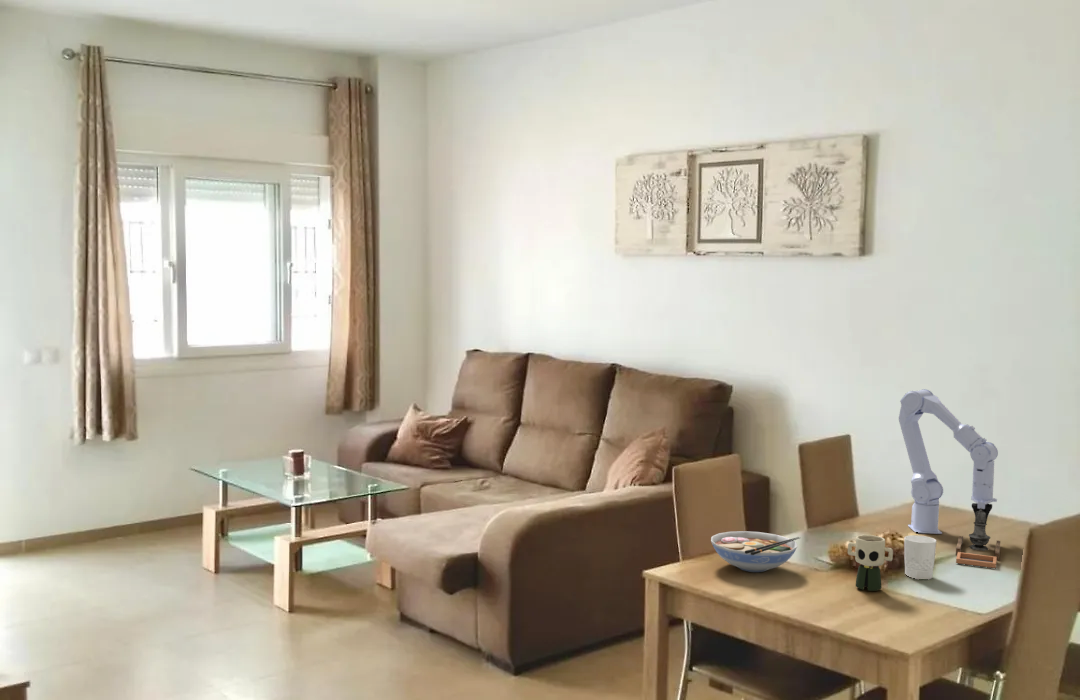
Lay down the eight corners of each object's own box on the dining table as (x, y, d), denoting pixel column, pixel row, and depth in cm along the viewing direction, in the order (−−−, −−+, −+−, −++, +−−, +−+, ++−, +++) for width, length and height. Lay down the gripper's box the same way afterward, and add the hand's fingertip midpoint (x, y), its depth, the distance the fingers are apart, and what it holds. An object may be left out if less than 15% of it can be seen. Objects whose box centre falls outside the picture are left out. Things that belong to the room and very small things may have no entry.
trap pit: (957, 557, 288) (957, 551, 288) (996, 562, 284) (996, 556, 284) (955, 564, 281) (956, 558, 281) (995, 569, 276) (995, 563, 276)
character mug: (842, 589, 255) (845, 538, 254) (849, 582, 261) (851, 532, 260) (888, 596, 250) (890, 544, 249) (893, 589, 256) (896, 538, 255)
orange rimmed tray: (959, 542, 304) (959, 536, 304) (1000, 547, 300) (1000, 540, 299) (955, 555, 290) (956, 548, 290) (998, 560, 285) (999, 553, 285)
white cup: (897, 576, 268) (899, 538, 267) (910, 570, 274) (911, 533, 273) (927, 582, 262) (929, 544, 262) (939, 576, 268) (941, 539, 268)
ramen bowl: (743, 551, 289) (744, 523, 288) (815, 569, 273) (816, 539, 272) (689, 568, 271) (690, 537, 271) (763, 587, 255) (764, 555, 255)
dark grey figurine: (993, 551, 295) (995, 510, 295) (972, 550, 296) (974, 509, 295) (984, 545, 301) (986, 505, 300) (964, 545, 301) (966, 505, 301)
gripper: (997, 488, 297) (994, 534, 297) (998, 480, 310) (996, 524, 311) (970, 486, 300) (968, 531, 300) (972, 478, 313) (971, 522, 314)
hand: (980, 528), depth 306 cm, fingers closed
